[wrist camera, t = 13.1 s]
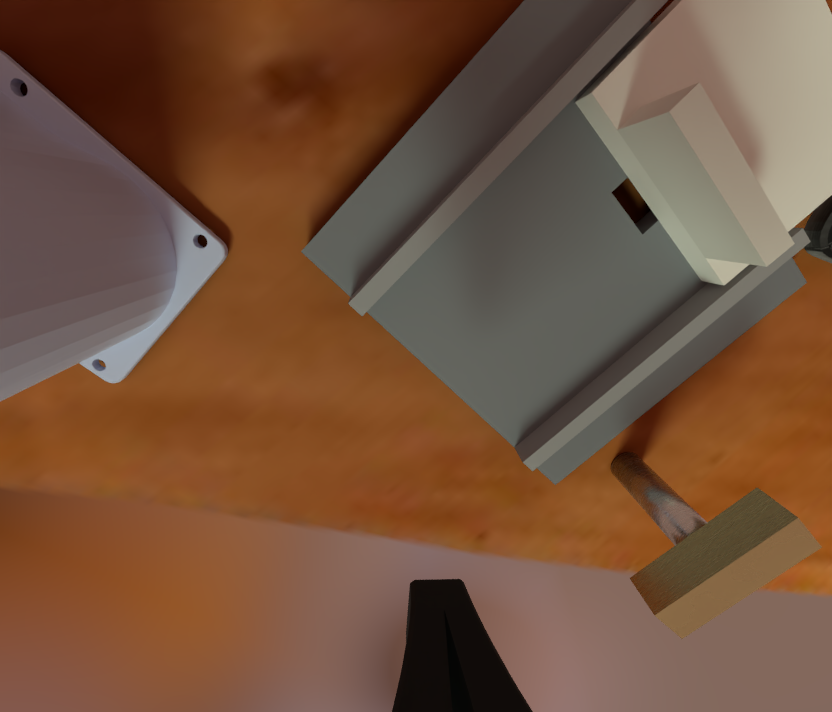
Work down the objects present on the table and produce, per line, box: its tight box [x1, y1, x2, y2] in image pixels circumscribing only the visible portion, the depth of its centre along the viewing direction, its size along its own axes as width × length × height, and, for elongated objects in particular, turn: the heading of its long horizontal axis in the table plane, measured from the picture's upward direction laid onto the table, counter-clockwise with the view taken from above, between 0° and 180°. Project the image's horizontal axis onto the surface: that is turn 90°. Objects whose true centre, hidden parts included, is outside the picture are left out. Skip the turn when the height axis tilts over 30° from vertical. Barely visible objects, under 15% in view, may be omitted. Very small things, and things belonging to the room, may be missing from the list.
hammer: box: [611, 452, 822, 639], centre depth 18 cm, size 2×6×7 cm, turn 135°
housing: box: [301, 0, 811, 485], centre depth 16 cm, size 16×14×2 cm
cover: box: [575, 0, 832, 285], centre depth 13 cm, size 9×7×4 cm
